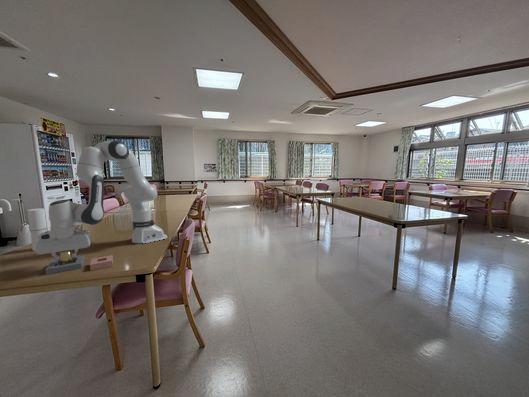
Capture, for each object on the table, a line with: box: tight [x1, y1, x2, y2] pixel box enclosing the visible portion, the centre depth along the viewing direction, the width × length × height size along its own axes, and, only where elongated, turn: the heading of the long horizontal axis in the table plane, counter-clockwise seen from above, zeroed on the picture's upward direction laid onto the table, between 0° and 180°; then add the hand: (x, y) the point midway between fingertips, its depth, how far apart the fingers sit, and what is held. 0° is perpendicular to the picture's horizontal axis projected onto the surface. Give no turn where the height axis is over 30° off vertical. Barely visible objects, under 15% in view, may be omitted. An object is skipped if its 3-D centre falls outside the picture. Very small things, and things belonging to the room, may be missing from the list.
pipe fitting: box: [58, 250, 74, 266], centre depth 111 cm, size 6×6×8 cm
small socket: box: [89, 254, 114, 271], centre depth 113 cm, size 9×9×3 cm
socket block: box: [44, 254, 85, 275], centre depth 112 cm, size 13×13×2 cm
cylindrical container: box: [27, 207, 48, 252], centre depth 135 cm, size 7×7×25 cm
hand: (66, 258), depth 111 cm, fingers closed on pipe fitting, 5 cm apart
